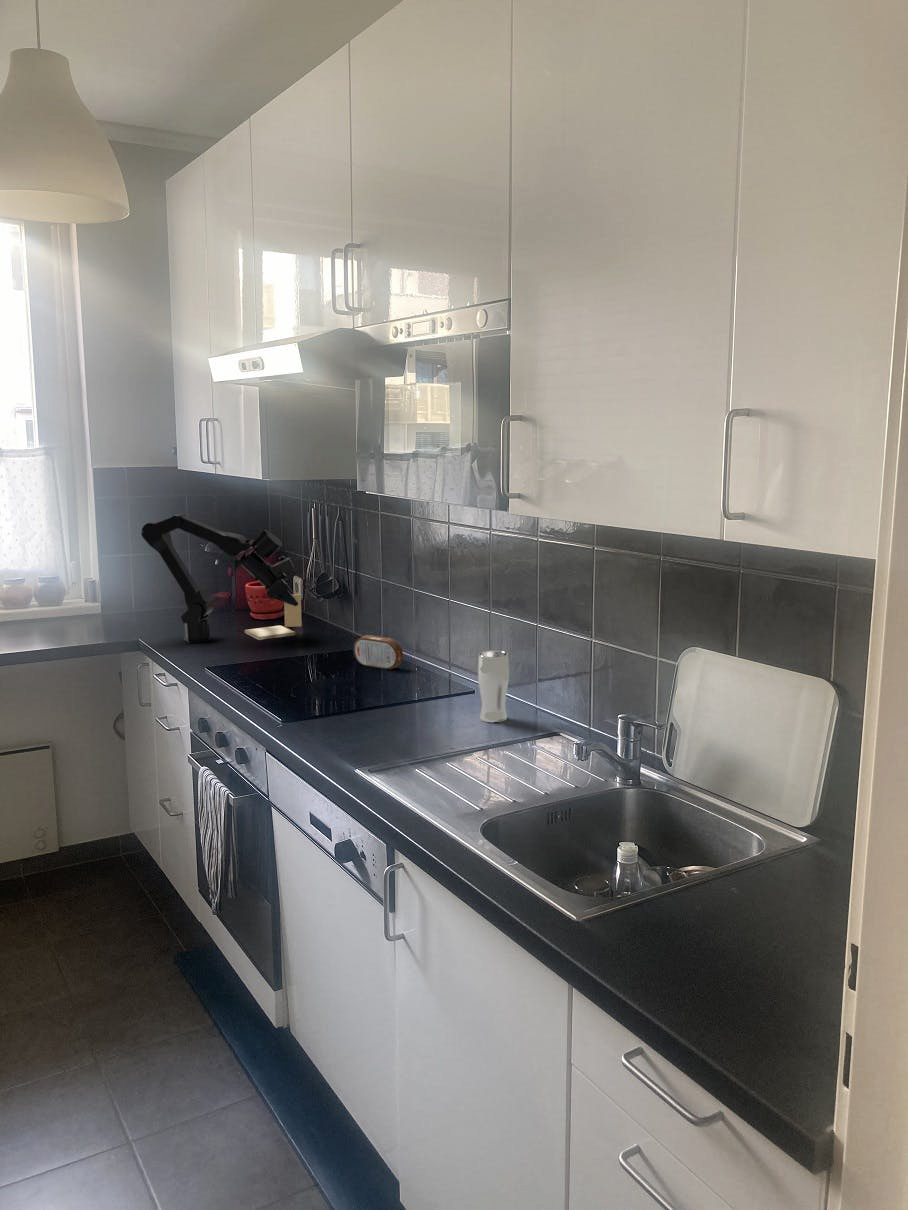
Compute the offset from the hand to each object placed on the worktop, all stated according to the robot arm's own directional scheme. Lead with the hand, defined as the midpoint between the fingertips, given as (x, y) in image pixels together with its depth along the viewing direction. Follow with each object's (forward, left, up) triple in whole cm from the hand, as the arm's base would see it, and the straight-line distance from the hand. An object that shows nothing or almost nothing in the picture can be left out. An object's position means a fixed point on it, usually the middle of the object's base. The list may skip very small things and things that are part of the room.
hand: (297, 603), depth 301 cm
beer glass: (+5, -100, -11) cm, 100 cm away
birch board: (-4, +12, -11) cm, 17 cm away
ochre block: (-1, +1, -7) cm, 7 cm away
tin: (+5, -44, -12) cm, 45 cm away
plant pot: (+5, +38, -11) cm, 40 cm away
